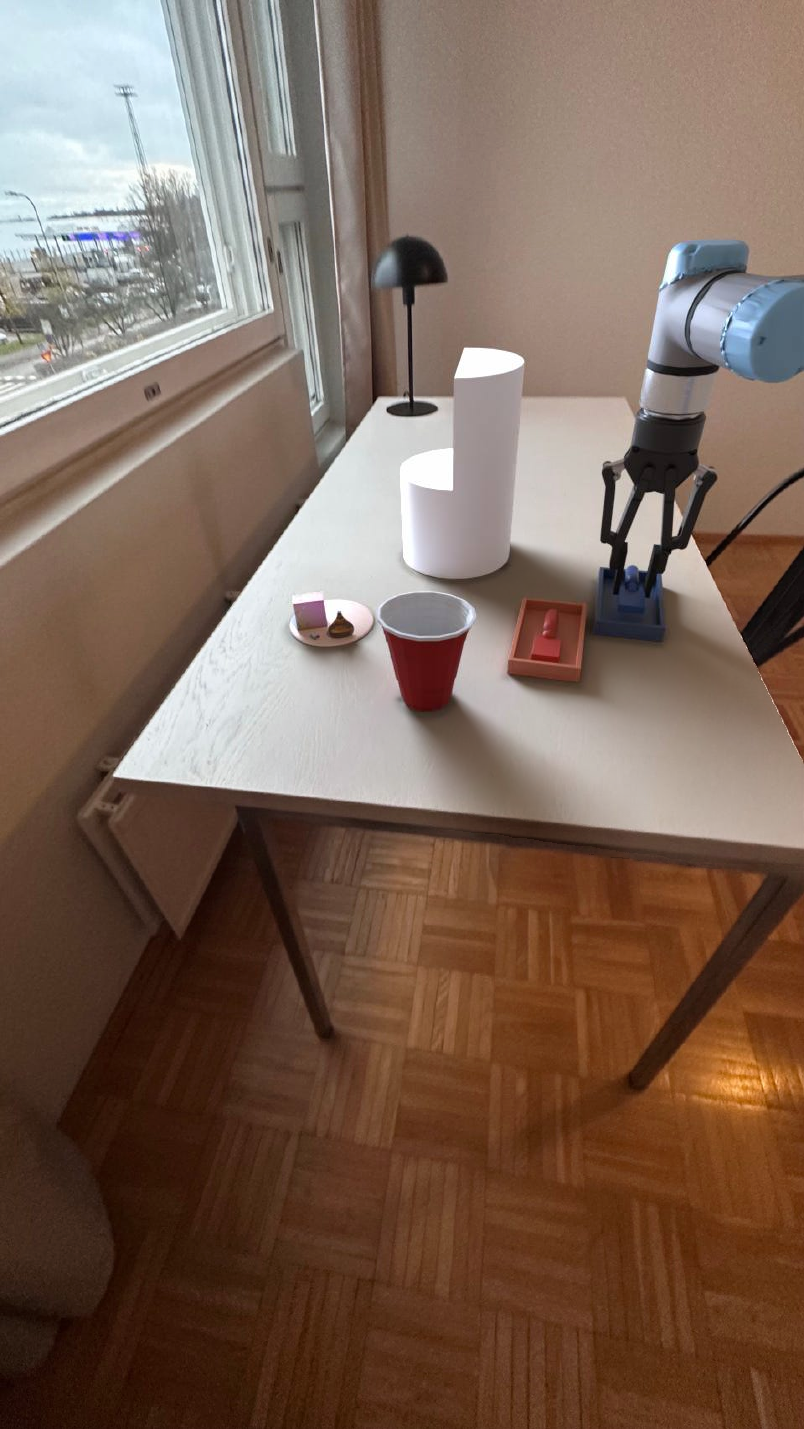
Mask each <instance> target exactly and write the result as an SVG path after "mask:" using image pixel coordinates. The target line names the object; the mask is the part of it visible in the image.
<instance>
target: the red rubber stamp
mask: <svg viewBox="0 0 804 1429" xmlns="http://www.w3.org/2000/svg"><path fill="white" fill-rule="evenodd" d="M558 619H559V613H558V612H557V611H556V610H555V609H550V610H548V611H547V612H546V614H545V620H544V625H543V630H542V636H535V639H534V644H533V649H532V654H531V660H535V661H543V662H551V663H558V662H559V655H560V648H561V641H562V639H559V638H556V632H557V625H558Z"/></svg>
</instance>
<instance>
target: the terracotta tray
mask: <svg viewBox="0 0 804 1429" xmlns="http://www.w3.org/2000/svg"><path fill="white" fill-rule="evenodd" d="M550 609H555V610H556V611H557V612H558V613H559V619H558V625H557V632H556V638H559V639H562V641H561V648H560V655H559V662H558V663H551V662H543V661H535V660H531V654H532V649H533V644H534V639H535V636H542V630H543V625H544V620H545V614H546V612H547V611H548V610H550ZM587 610H588V603H584V602H583V603H582V602H573V601H564V600H553V599H545V598H533V597H522V600H521V606H520V608H519V613H518V617H517V621H516V626H515V631H514V633H513V638H512V642H511V646H510V649H509V650H510V651H509V656H508V658H507V668H506V674H510V675H518V676H523V677H524V676H525V677H533V678H541V679H549V680H555V681H556V680H557V681H564V682H572V683H579V682H580V677H581V671H582V664H583V653H584V642H585V630H586V622H587V621H586V620H587Z"/></svg>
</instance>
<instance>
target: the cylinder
mask: <svg viewBox="0 0 804 1429" xmlns="http://www.w3.org/2000/svg"><path fill="white" fill-rule="evenodd" d="M525 363H526V362H525V360H524V358H523V357H522V356H521V355H519V354H517V353H514V352H510V351H507V350H503V349H502V350H501V349H496V348H485V347H464V348H463V350H462V353H461V357H460V360H459V362H458V366H457V368H456V371H455V374H454V377H453V412H452V413H453V414H452V415H453V419H452V423H453V424H452V448H443V449H436V450H435V449H433V450H430V451H426V452H422V453H419V454H417V455H414V456H411V457H410V458H409V459H407V460H406V461H404V462H403V463H402V465H401V466H400V470H399V471H400V472H399V475H400V478H399V479H400V497H401V498H400V499H401V500H400V502H401V516H402V517H401V521H402V522H401V524H402V525H401V526H402V527H401V528H402V548H403V550H402V552H403V559H404V561H405V563H406V564H407V565H408V566H409V567H410V568H412V570H414V571H416V572H418V573H420V574H423V575H426V576H429V577H435V578H438V579H447V580H466V579H473V578H479V577H483V576H486V575H488V574H492V573H494V572H495V571H497V570H499V569H500V568H502V567H503V566H504V565H505V564H506V563H508V560H509V557H510V551H511V537H512V526H513V514H514V513H513V512H514V502H515V501H514V499H515V498H514V497H515V487H516V486H515V485H516V474H517V463H518V462H517V461H518V451H519V436H520V425H521V411H522V401H523V400H522V399H523V387H524V386H523V385H524V374H525Z"/></svg>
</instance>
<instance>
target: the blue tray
mask: <svg viewBox="0 0 804 1429" xmlns="http://www.w3.org/2000/svg"><path fill="white" fill-rule="evenodd" d="M598 569H599V570H598V573H597V574H598V575H597V581H596V582H597V583H596V596H595V608H594V619H593V620H594V622H593V635H597V636H606V637H615V638H624V639H631V640H632V639H633V640H642V641H651V642H659V643H660V642H661V643H662V642H663V639H664V636H665V632H666V617H665V616H666V615H665V614H666V613H665V602H664V588H663V574H655V578H654V582H653V586H652V590H651V594H650V598H645V606H646V608H645V612H644V614H637V613H628V612H619V611H617V604H618V595H613V583H614V578H615V573H616V570H610V568H609V566H607V567H605V566H599V568H598ZM638 570H639V591H643V587H644V583H645V579H646V575H647V571H648V570H641V569H638ZM625 571H626V568H624V571H623V576H622V580H621V585H620V589H625Z"/></svg>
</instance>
